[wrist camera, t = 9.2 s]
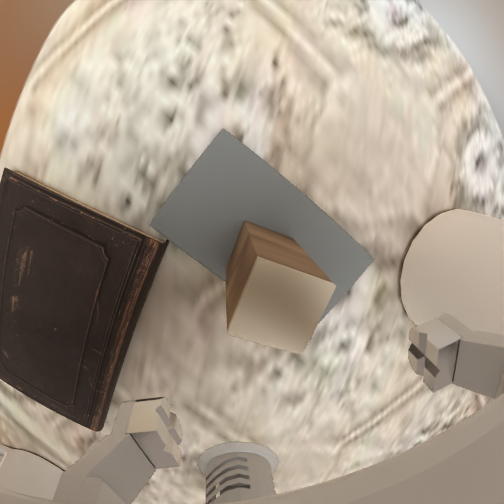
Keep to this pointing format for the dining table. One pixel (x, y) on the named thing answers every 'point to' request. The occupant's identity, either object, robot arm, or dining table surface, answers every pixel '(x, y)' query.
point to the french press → (238, 472)
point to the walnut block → (274, 290)
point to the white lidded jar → (457, 271)
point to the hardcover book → (68, 297)
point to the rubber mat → (253, 214)
